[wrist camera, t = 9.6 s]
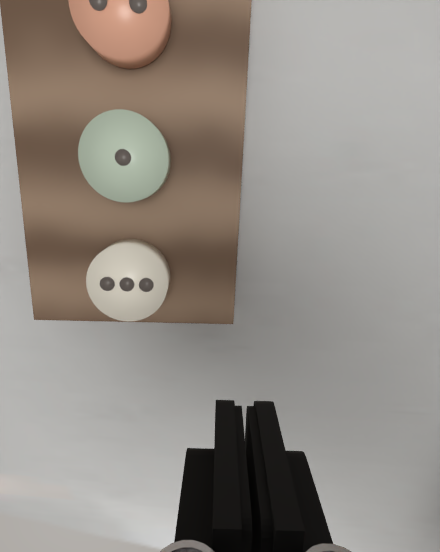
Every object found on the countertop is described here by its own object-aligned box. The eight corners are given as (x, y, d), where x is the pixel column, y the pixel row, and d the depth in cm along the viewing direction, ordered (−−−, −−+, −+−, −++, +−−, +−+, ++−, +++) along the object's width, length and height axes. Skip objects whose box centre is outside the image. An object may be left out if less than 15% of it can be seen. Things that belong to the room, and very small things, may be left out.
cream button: (170, 310, 25) (167, 322, 23) (97, 309, 24) (88, 320, 22) (170, 240, 23) (167, 246, 21) (93, 237, 23) (83, 243, 21)
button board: (230, 308, 28) (233, 324, 26) (51, 304, 28) (34, 319, 25) (247, -16, 22) (253, -44, 20) (21, -33, 22) (-7, -64, 19)
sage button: (170, 201, 23) (167, 204, 21) (91, 198, 22) (80, 200, 20) (171, 117, 21) (167, 111, 19) (86, 113, 21) (74, 106, 19)
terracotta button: (171, 71, 21) (167, 59, 19) (83, 66, 20) (71, 54, 18) (171, -31, 19) (167, -56, 17) (78, -38, 19) (63, -64, 17)
